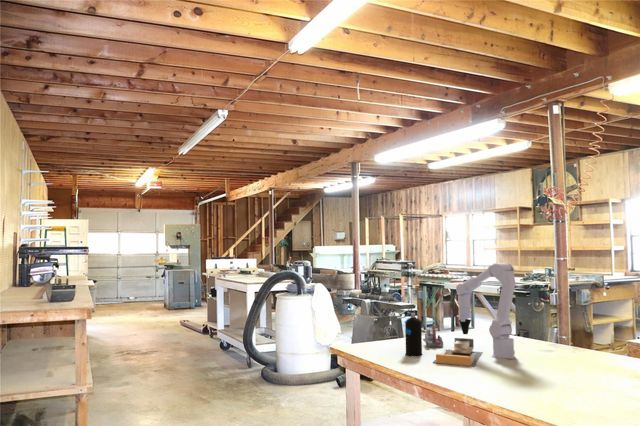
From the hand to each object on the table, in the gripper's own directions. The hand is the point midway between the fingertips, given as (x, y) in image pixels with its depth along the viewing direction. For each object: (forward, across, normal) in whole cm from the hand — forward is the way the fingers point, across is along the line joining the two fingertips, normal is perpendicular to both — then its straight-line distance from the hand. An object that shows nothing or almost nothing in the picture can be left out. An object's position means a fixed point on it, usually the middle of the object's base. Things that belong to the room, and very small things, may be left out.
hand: (465, 334), depth 254 cm
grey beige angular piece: (+7, +11, 0) cm, 13 cm away
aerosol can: (+8, +23, -21) cm, 32 cm away
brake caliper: (+8, -1, -17) cm, 18 cm away
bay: (+8, +21, 0) cm, 22 cm away
